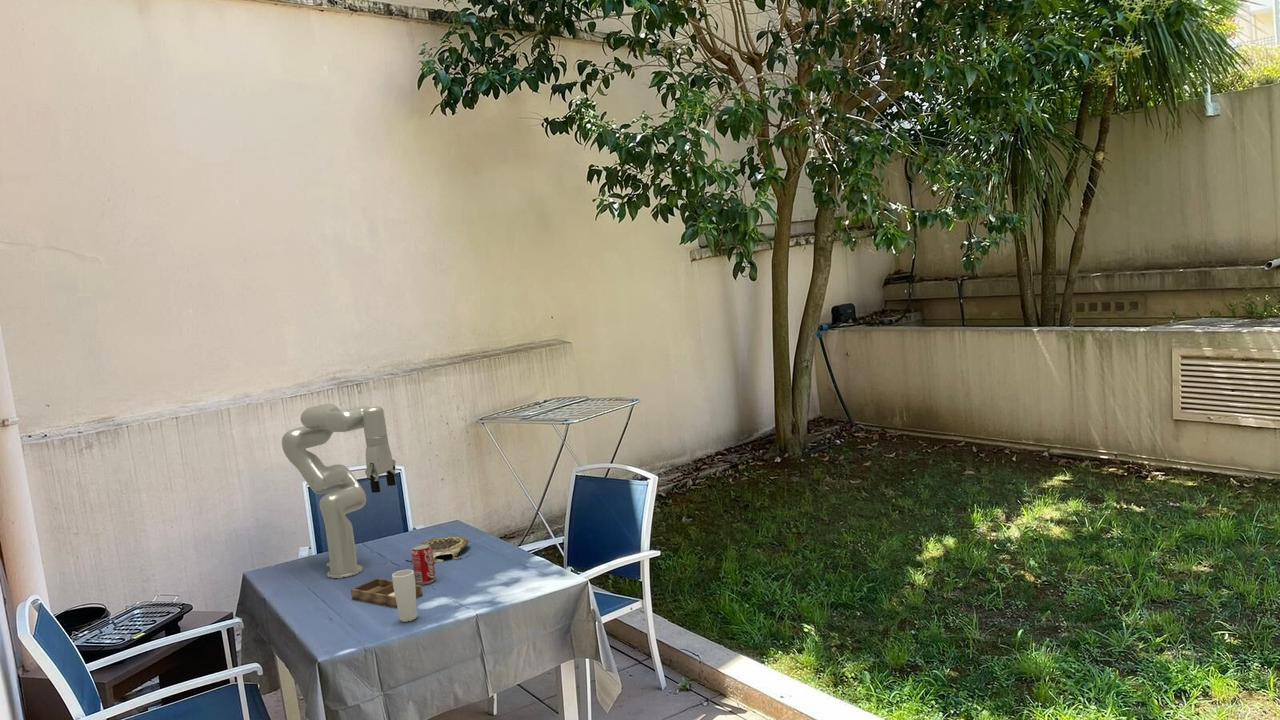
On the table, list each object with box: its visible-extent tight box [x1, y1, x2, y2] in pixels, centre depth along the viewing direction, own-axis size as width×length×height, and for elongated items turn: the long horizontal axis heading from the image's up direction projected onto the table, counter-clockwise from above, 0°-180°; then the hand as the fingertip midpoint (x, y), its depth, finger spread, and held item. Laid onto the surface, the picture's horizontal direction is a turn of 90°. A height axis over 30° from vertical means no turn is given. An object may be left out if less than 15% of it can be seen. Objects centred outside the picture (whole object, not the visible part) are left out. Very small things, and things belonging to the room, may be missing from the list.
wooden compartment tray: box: [350, 577, 423, 609], centre depth 292 cm, size 22×12×4 cm, turn 56°
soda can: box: [411, 543, 437, 586], centre depth 304 cm, size 7×7×13 cm
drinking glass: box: [391, 569, 418, 623], centre depth 269 cm, size 7×7×15 cm
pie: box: [409, 536, 470, 564], centre depth 338 cm, size 28×27×5 cm
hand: (384, 488), depth 306 cm, fingers open, 9 cm apart
